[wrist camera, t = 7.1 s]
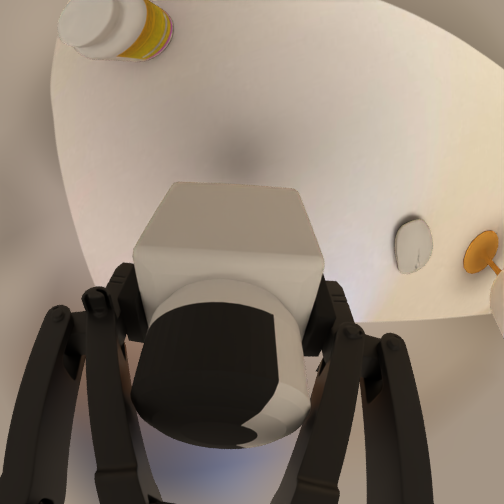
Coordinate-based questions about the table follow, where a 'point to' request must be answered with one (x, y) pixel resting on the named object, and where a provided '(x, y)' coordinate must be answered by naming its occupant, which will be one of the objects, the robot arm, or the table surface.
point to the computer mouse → (413, 246)
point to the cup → (481, 256)
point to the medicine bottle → (226, 314)
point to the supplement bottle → (115, 29)
